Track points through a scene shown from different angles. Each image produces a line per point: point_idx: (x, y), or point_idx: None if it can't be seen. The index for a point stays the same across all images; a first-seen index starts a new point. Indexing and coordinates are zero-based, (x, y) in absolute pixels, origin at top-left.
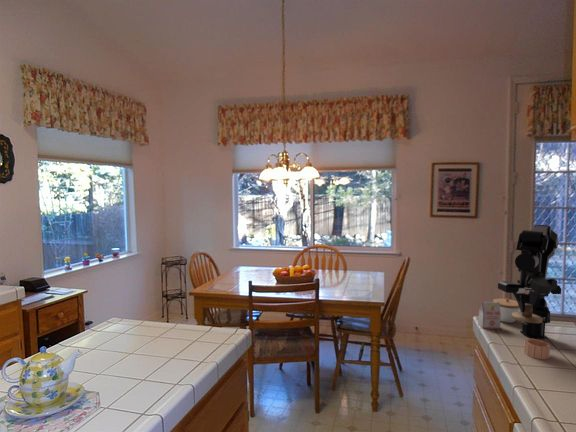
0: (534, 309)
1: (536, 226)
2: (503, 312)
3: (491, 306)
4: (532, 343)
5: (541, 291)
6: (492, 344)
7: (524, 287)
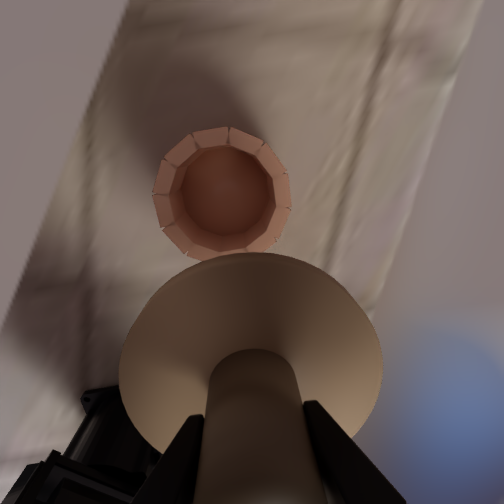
0: (178, 446)
1: None
2: None
3: None
4: (226, 244)
5: None
6: (382, 282)
7: None
